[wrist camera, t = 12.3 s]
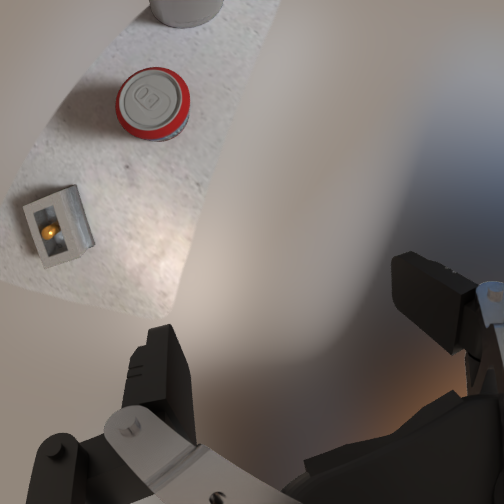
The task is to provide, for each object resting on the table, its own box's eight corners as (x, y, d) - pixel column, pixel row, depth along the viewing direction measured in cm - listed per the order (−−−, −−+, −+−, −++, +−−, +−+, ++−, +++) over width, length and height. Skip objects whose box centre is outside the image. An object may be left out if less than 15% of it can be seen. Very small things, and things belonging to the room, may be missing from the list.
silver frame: (34, 201, 33) (22, 206, 30) (69, 187, 34) (58, 191, 30) (54, 259, 36) (44, 269, 33) (88, 248, 37) (80, 257, 33)
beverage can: (162, 153, 36) (151, 155, 25) (122, 118, 34) (95, 106, 22) (201, 112, 35) (207, 95, 24) (161, 77, 33) (151, 47, 22)
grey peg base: (32, 202, 34) (13, 210, 29) (76, 184, 35) (61, 190, 30) (51, 258, 37) (36, 273, 32) (95, 244, 38) (83, 258, 32)
